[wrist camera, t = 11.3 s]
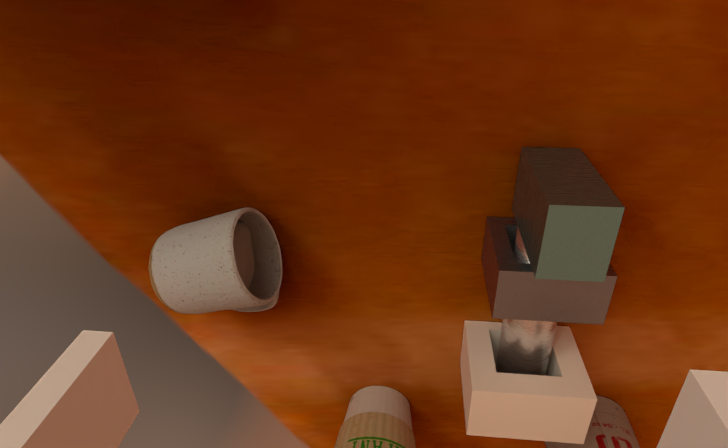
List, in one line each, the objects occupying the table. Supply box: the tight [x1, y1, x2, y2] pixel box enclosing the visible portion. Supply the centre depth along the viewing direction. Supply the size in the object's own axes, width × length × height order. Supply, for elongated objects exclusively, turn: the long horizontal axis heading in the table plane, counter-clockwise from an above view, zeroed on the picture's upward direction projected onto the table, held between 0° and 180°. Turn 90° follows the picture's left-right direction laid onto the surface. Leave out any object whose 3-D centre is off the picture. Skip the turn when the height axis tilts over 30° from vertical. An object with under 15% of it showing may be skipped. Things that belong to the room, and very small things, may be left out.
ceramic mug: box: [149, 207, 283, 314], centre depth 40 cm, size 11×8×8 cm
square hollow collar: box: [482, 217, 617, 325], centre depth 36 cm, size 4×7×7 cm, turn 91°
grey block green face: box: [495, 147, 625, 376], centre depth 36 cm, size 20×4×9 cm, turn 1°
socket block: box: [460, 320, 597, 444], centre depth 42 cm, size 5×9×8 cm, turn 91°
